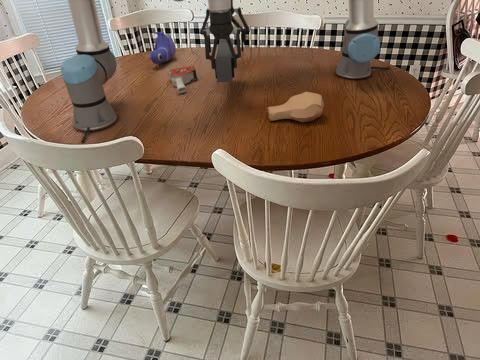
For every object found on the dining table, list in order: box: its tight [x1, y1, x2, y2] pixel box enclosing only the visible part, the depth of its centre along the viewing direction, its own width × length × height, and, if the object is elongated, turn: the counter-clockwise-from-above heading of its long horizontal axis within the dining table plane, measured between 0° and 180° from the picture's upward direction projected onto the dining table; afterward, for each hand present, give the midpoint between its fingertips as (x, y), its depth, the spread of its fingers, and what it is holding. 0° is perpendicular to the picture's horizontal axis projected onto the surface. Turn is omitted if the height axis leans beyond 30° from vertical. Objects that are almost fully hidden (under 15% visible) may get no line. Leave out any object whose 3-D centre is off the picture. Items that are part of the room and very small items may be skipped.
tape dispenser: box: [166, 65, 198, 94], centre depth 159 cm, size 18×5×20 cm
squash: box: [266, 91, 325, 123], centre depth 125 cm, size 11×20×9 cm, turn 92°
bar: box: [215, 37, 234, 83], centre depth 141 cm, size 29×6×8 cm, turn 179°
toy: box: [148, 31, 177, 69], centre depth 182 cm, size 10×17×25 cm
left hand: (225, 76), depth 135 cm, fingers closed on bar, 6 cm apart
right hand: (226, 51), depth 149 cm, fingers open, 13 cm apart
